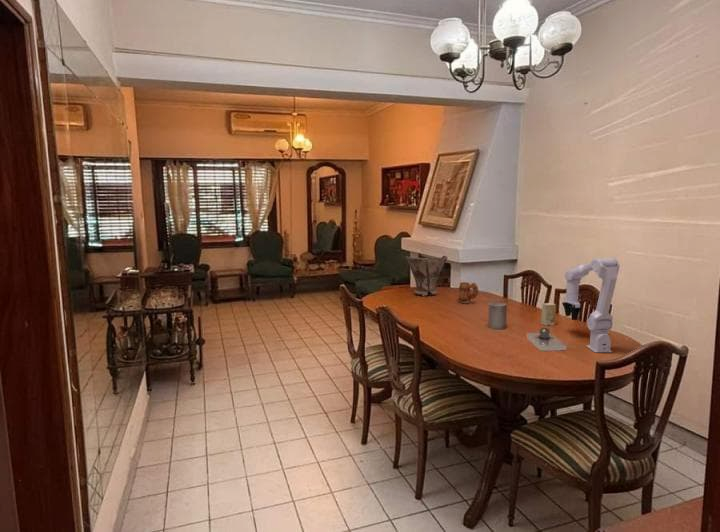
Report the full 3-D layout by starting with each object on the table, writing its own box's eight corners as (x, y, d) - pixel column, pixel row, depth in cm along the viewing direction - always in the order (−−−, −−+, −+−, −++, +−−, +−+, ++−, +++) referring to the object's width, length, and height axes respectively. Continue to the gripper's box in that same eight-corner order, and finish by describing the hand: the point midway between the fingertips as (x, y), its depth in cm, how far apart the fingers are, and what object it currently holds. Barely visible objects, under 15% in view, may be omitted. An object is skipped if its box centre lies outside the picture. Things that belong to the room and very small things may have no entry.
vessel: (450, 292, 349) (450, 254, 345) (441, 299, 325) (441, 258, 321) (413, 290, 361) (413, 252, 357) (402, 296, 337) (402, 257, 333)
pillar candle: (500, 324, 262) (501, 298, 260) (509, 328, 252) (510, 302, 250) (485, 325, 260) (485, 300, 258) (493, 330, 250) (494, 303, 248)
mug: (455, 302, 315) (455, 281, 313) (462, 301, 321) (462, 280, 318) (473, 306, 305) (473, 284, 302) (480, 304, 310) (480, 282, 308)
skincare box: (545, 326, 256) (546, 305, 254) (540, 324, 260) (541, 303, 258) (555, 325, 258) (556, 304, 256) (550, 323, 262) (551, 302, 260)
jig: (565, 350, 216) (566, 345, 215) (540, 350, 216) (540, 345, 216) (549, 337, 236) (550, 332, 235) (526, 337, 236) (526, 333, 236)
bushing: (550, 343, 226) (550, 330, 225) (541, 344, 226) (542, 330, 225) (546, 341, 230) (547, 327, 229) (538, 341, 230) (538, 327, 229)
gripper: (559, 289, 243) (557, 314, 245) (570, 295, 229) (569, 321, 231) (572, 289, 243) (571, 314, 245) (584, 295, 228) (583, 321, 230)
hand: (571, 317), depth 238 cm, fingers open, 7 cm apart
